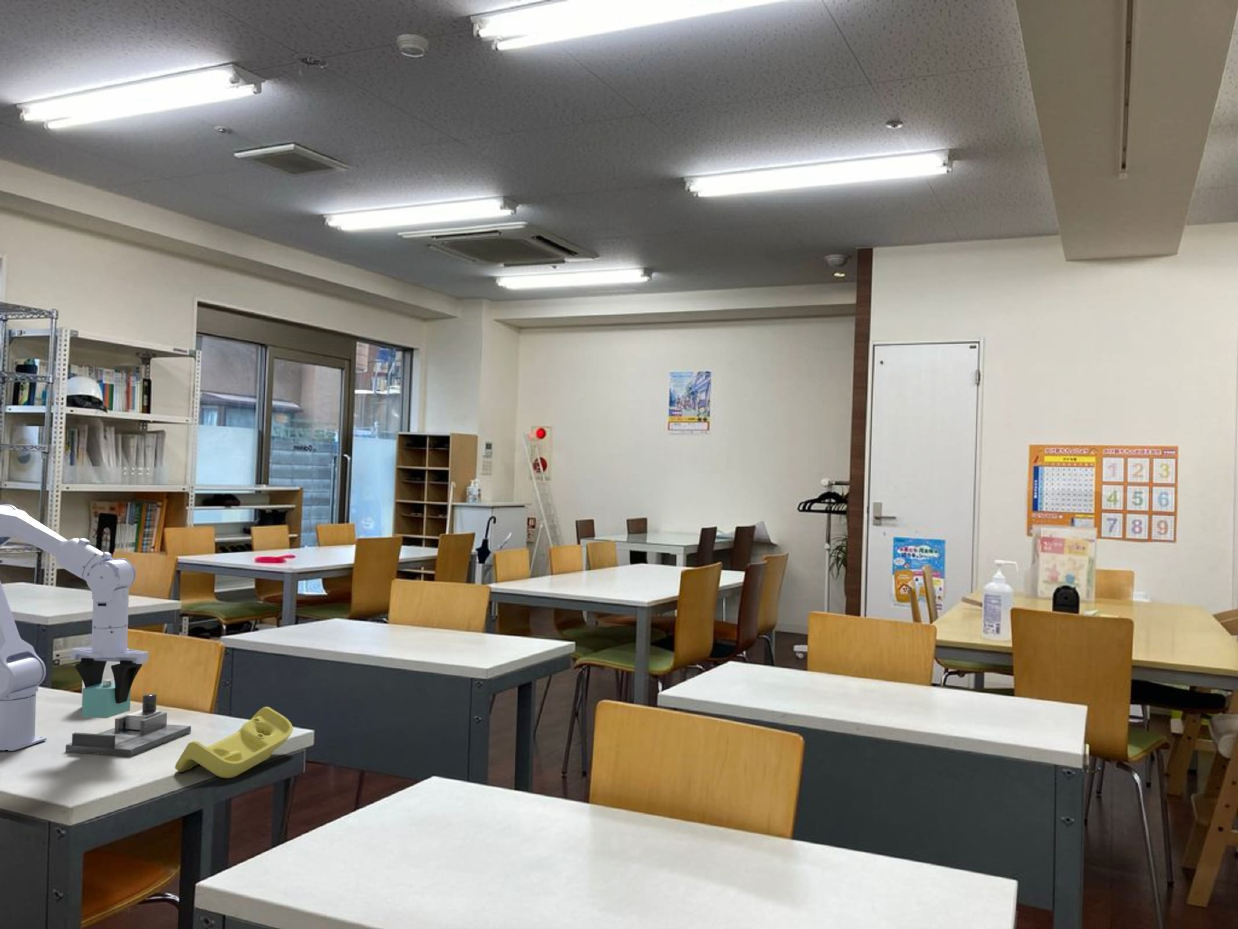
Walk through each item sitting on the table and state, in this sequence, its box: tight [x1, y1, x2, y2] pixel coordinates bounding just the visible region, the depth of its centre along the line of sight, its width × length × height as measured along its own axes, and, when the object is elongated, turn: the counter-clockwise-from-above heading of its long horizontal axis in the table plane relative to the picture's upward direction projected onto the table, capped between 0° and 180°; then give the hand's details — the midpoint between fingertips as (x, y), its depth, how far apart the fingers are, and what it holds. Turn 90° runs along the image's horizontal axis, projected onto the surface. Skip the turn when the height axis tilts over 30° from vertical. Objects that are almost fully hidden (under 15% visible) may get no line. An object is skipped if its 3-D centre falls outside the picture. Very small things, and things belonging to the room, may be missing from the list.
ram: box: [125, 693, 163, 730], centre depth 182 cm, size 4×5×6 cm
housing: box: [81, 679, 132, 719], centre depth 172 cm, size 5×6×6 cm
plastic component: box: [174, 706, 294, 779], centre depth 166 cm, size 20×7×10 cm
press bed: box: [65, 711, 192, 757], centre depth 176 cm, size 13×17×4 cm
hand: (107, 701), depth 172 cm, fingers closed on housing, 5 cm apart
